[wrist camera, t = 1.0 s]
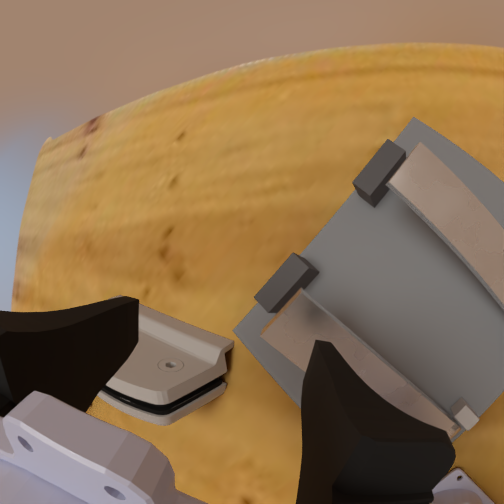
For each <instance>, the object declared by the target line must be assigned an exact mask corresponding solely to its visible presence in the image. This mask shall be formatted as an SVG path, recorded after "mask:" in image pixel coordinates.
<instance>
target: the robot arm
mask: <svg viewBox="0 0 504 504" xmlns="http://www.w3.org/2000/svg"><path fill="white" fill-rule="evenodd" d="M138 342H139V299H135V298H131V297H128V296H123V297H117V298H113V299H108V300H104V301H100V302H96V303H92V304H88V305H84V306H79V307H74V308H70V309H64V310H58V311H48V312H9V311H0V504H208V503H205V502H203V501H201V500H198V499H196V498H194V497H191V496H189V495H187V494H185V493H183V492H180V491H178V490H176V489H175V473H174V471H173V469H172V467H171V464H170V462H169V460H168V458H167V457H166V456H165V455H164V454H163V453H162V452H160V451H159V450H158V449H157V448H156V447H155V446H154V445H153V444H152V443H150V442H148V441H146V440H144V439H143V438H141V437H139V436H137V435H135V434H133V433H131V432H129V431H126V430H124V429H121V428H119V427H116V426H114V425H112V424H109V423H107V422H105V421H102V420H100V419H98V418H95V417H93V416H91V415H89V414H87V413H86V411H87V409H88V408H89V406H90V405H91V403H92V402H93V400H94V399H95V397H96V396H97V394H98V393H99V392H100V391H101V389H102V388H103V387H104V386H105V385H106V384H107V383H108V381H109V380H110V379H111V378H112V377H113V376H114V375H115V373H116V372H117V371H118V370H119V369H120V368H121V366H122V365H123V364H124V363H125V362H126V361H127V359H128V358H129V357H130V355H131V353H132V352H133V350H134V349H135V347H136V345H137V343H138ZM301 419H302V461H301V471H300V479H299V486H298V493H297V500H296V504H495V503H494V502H493V501H492V500H491V499H490V498H489V497H488V496H487V495H486V494H485V493H484V492H483V491H482V490H481V489H480V488H479V487H478V486H477V485H476V484H475V483H474V482H473V481H472V480H471V479H470V478H469V477H468V476H467V474H466V473H465V472H464V471H463V470H462V469H460V468H455V469H453V470H452V471H451V472H450V473H448V471H449V470H450V468H451V467H452V465H453V463H454V460H455V457H456V455H455V449H454V447H453V445H452V442H451V440H450V438H449V436H448V434H447V431H445V430H443V429H440V428H437V427H435V426H432V425H429V424H427V423H424V422H422V421H420V420H418V419H416V418H414V417H412V416H410V415H408V414H406V413H405V412H403V411H401V410H400V409H398V408H397V407H395V406H394V405H392V404H391V403H389V402H388V401H386V400H385V399H384V398H382V397H381V396H380V395H379V394H377V393H376V392H375V391H374V390H373V389H371V388H370V387H369V386H368V385H367V384H366V383H365V382H364V381H363V380H362V379H361V378H360V377H359V376H358V375H357V374H356V372H355V371H354V370H353V369H352V368H351V367H350V365H349V364H348V363H347V362H346V361H345V359H344V358H343V357H342V355H341V354H340V353H339V352H338V350H337V349H336V348H335V346H334V345H333V344H332V343H331V342H327V341H322V340H315V343H314V347H313V350H312V353H311V357H310V360H309V363H308V366H307V370H306V373H305V376H304V379H303V385H302V395H301ZM447 473H448V474H447ZM446 474H447V475H446ZM445 475H446V476H445ZM458 476H462V477H461V478H459V479H457V477H458Z"/></svg>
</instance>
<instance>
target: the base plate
mask: <svg viewBox="0 0 504 504" xmlns="http://www.w3.org/2000/svg"><path fill="white" fill-rule="evenodd" d="M419 142H421V143H422V144H424V145H425V146H426V147H427V148H428V149H429V150H430V151H431V152H432V153H433V154H434V155H435V156H437V157H438V158H439V159H440V160H441V161H442V162H443V163H444V164H445V165H446V166H447V167H448V168H449V169H450V170H451V171H452V172H453V173H454V174H455V175H456V176H457V177H458V178H459V179H460V180H461V181H462V182H463V183H464V184H465V185H466V186H467V188H468V189H469V190H470V191H471V192H472V193H473V194H474V195H475V196H476V197H477V198H478V200H479V201H480V202H481V203H482V204H483V205H484V206H485V207H486V209H487V210H488V211H489V212H490V213H491V214H492V216H493V217H494V218H495V219H496V220H497V222H498V223H499V224H500V225H501V227H502V228H503V229H504V182H503V181H501V180H500V179H499V178H498V177H497V176H495V175H494V174H493V173H492V172H491V171H489V170H488V169H487V168H486V167H484V166H483V165H482V164H481V163H479V162H478V161H477V160H475V159H474V158H473V157H472V156H470V155H469V154H468V153H466V152H465V151H464V150H462V149H461V148H459V147H458V146H457V145H455V144H454V143H452V142H451V141H450V140H448V139H447V138H445V137H444V136H442V135H441V134H439V133H438V132H436V131H435V130H433V129H432V128H430V127H429V126H427V125H426V124H424V123H423V122H421V121H419V120H418V119H416V118H415V117H413V118H412V120H411V121H410V122H409V123H408V125H407V126H406V127H405V129H404V130H403V131H402V132H401V134H400V135H399V136H398V137H397V139H396V140H395V141H394V142H392V141H390V140H389V139H387V140H386V142H385V143H384V144H383V145H382V147H381V148H380V149H379V150H378V152H377V153H376V154H375V155H374V156H373V158H372V159H371V160H370V161H369V163H368V164H367V165H366V166H365V167H364V169H363V170H362V171H361V172H360V174H359V175H358V176H357V177H356V178H355V180H354V181H353V182H352V183H353V185H354V187H355V191H354V192H353V193H352V194H351V195H350V197H349V198H348V199H347V200H346V201H345V203H344V204H343V205H342V206H341V207H340V209H339V210H338V211H337V212H336V213H335V215H334V216H333V217H332V218H331V219H330V220H329V222H328V223H327V224H326V225H325V226H324V228H323V229H322V230H321V231H320V232H319V233H318V235H317V236H316V237H315V238H314V239H313V240H312V242H311V243H310V244H309V245H308V246H307V247H306V249H305V250H304V251H303V252H302V253H301V254H300V255H297V254H295V253H292V254H291V255H290V256H289V258H288V259H287V260H286V261H285V262H284V263H283V265H282V266H281V267H280V268H279V269H278V270H277V271H276V273H275V274H274V275H273V276H272V277H271V278H270V279H269V281H268V282H267V283H266V284H265V285H264V286H263V287H262V288H261V290H260V291H259V292H258V293H257V294H256V295H255V296H254V298H255V299H256V300H257V302H258V303H257V304H256V305H255V306H254V307H253V309H252V310H251V311H250V312H249V313H248V314H247V315H246V316H245V317H244V319H243V320H242V321H241V322H240V323H239V324H238V325H237V326H236V327H235V328H234V329H233V332H234V333H235V334H236V335H237V337H238V338H239V339H240V340H241V341H242V343H243V344H244V345H245V346H246V347H247V348H248V350H249V351H250V352H251V353H252V354H253V356H254V357H255V358H256V359H257V360H258V361H259V362H260V364H261V365H262V366H263V367H264V368H265V369H266V371H267V372H268V373H269V374H270V375H271V376H272V377H273V379H274V380H275V381H276V382H277V383H278V384H279V385H280V386H281V388H282V389H283V390H284V391H285V392H286V393H287V394H288V395H289V396H290V398H291V399H292V400H293V401H294V402H295V403H296V404H297V405H298V406H299V407H300V408H301V395H302V385H303V379H304V376H305V373H306V372H304V371H303V370H302V369H300V368H299V367H298V366H297V365H295V364H294V363H293V362H291V361H290V360H289V359H288V358H286V357H285V356H284V355H283V354H281V353H280V352H279V351H278V350H276V349H275V348H274V347H273V346H271V345H270V344H269V343H268V342H266V341H265V340H264V339H263V338H261V337H260V335H261V332H262V329H263V328H264V327H265V326H266V325H267V324H268V323H269V322H270V321H271V320H272V318H273V317H274V316H275V315H276V314H277V313H278V312H279V311H280V310H281V309H282V308H283V307H284V306H285V304H286V303H287V302H288V301H289V300H290V299H291V298H292V297H293V296H294V295H295V293H296V292H297V291H298V290H299V289H300V288H303V289H304V290H305V291H306V292H307V293H308V294H310V295H311V296H312V297H313V298H314V299H315V300H317V301H318V302H319V303H320V304H321V305H322V306H324V307H325V308H326V309H327V310H328V311H329V312H331V313H332V314H333V315H334V316H335V317H336V318H338V319H339V320H340V321H341V322H342V323H343V324H345V325H346V326H347V327H348V328H349V329H350V330H352V331H353V332H354V333H355V334H356V335H357V336H359V337H360V338H361V339H362V340H363V341H364V342H366V343H367V344H368V345H369V346H370V347H371V348H373V349H374V350H375V351H376V352H377V353H378V354H380V355H381V356H382V357H383V358H384V359H385V360H386V361H388V362H389V363H390V364H391V365H392V366H393V367H395V368H396V369H397V370H398V371H399V372H400V373H402V374H403V375H404V376H405V377H406V378H407V379H409V380H410V381H411V382H412V383H413V384H414V385H415V386H417V387H418V388H419V389H420V390H421V391H422V392H424V393H425V394H426V395H427V396H428V397H429V398H430V399H432V400H433V401H434V402H435V403H436V404H437V405H439V406H440V407H441V408H442V409H443V410H444V411H445V412H447V413H448V414H449V415H451V416H452V417H453V418H454V419H455V420H456V421H457V422H458V424H459V425H460V426H461V428H462V429H461V430H460V431H459V432H458V433H457V434H456V435H455V436H454V437H453V438H452V439H450V440H451V442H453V441H454V440H455V439H457V438H458V437H459V436H460V435H461V434H462V433H463V432H464V431H465V430H467V431H469V430H470V429H471V428H472V427H473V426H474V425H475V424H476V423H477V422H478V421H479V417H480V416H481V415H482V414H483V413H484V412H485V411H486V410H487V409H488V408H489V406H490V405H491V404H492V403H493V402H494V401H495V400H496V399H497V398H498V397H499V396H500V395H501V393H502V392H503V391H504V311H503V309H502V308H501V307H500V305H499V304H498V303H497V302H496V300H495V299H494V298H493V297H492V295H491V294H490V293H489V292H488V291H487V289H486V288H485V287H484V286H483V284H482V283H481V282H480V281H479V280H478V279H477V277H476V276H475V275H474V274H473V273H472V272H471V270H470V269H469V268H468V267H467V266H466V265H465V264H464V263H463V261H462V260H461V259H460V258H459V257H458V256H457V255H456V254H455V253H454V252H453V250H452V249H451V248H450V247H449V246H448V245H447V244H446V243H445V242H444V241H443V240H442V239H441V238H440V237H439V236H438V235H437V234H436V233H435V232H434V231H433V230H432V229H431V228H430V227H429V226H428V225H427V224H426V223H425V222H424V221H423V220H422V219H421V218H420V217H419V216H418V215H417V214H416V213H415V212H414V211H413V210H412V209H411V208H410V207H409V206H408V205H407V204H406V203H405V202H404V201H403V200H402V199H400V198H399V197H398V196H397V195H396V194H395V193H394V192H393V191H392V190H391V189H389V188H388V187H387V186H386V183H387V182H388V181H389V180H390V178H391V177H392V176H393V175H394V173H395V172H396V171H397V170H398V168H399V167H400V166H401V164H402V163H403V162H404V161H405V159H406V158H407V157H408V155H409V154H410V153H411V151H412V150H413V149H414V148H415V146H416V145H417V144H418V143H419Z"/></svg>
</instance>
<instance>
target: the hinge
mask: <svg viewBox="0 0 504 504" xmlns="http://www.w3.org/2000/svg"><path fill="white" fill-rule="evenodd" d="M117 297H123V296H121V295H119V296H116V297H113V298H117ZM113 298H110V299H113ZM233 347H234V341H232V340H230V339H227V338H224V337H221V336H219V335H216V334H213V333H211V332H208V331H205V330H203V329H200V328H198V327H195V326H192V325H190V324H187V323H185V322H182V321H180V320H177V319H175V318H172V317H170V316H168V315H165V314H163V313H160V312H158V311H156V310H153V309H151V308H148V307H146V306H144V305H141V304H139V342H138V343H137V345H136V347H135V349H134V350H133V352H132V353H131V355H130V357H129V358H128V359H127V361H126V362H125V363H124V364H123V365H122V366H121V368H120V369H119V370H118V371H117V372H116V373H115V375H114V376H113V377H112V378H111V379H110V380H109V381H108V383H107V384H106V385H105V386H104V387H103V388H102V389H101V391H100V392H99V393H98V394H97V396H99V397H100V398H101V399H103V400H104V401H105V402H107V403H108V404H110V405H112V406H113V407H115V408H117V409H119V410H120V411H122V412H125V413H127V414H129V415H131V416H133V417H136V418H139V419H141V420H144V421H147V422H150V423H154V424H157V425H164V426H165V425H170V424H172V423H174V422H176V421H177V420H179V419H181V418H183V417H184V416H186V415H188V414H190V413H191V412H193V411H195V410H196V409H198V408H200V407H202V406H203V405H205V404H207V403H208V402H210V401H212V400H213V399H215V398H216V397H218V396H220V395H221V394H223V393H224V391H225V388H226V385H227V384H226V383H224V382H222V380H221V379H219V377H221V376H222V374H224V373H226V372H227V367H226V361H225V352H227V351H228V350H230V349H231V348H233Z"/></svg>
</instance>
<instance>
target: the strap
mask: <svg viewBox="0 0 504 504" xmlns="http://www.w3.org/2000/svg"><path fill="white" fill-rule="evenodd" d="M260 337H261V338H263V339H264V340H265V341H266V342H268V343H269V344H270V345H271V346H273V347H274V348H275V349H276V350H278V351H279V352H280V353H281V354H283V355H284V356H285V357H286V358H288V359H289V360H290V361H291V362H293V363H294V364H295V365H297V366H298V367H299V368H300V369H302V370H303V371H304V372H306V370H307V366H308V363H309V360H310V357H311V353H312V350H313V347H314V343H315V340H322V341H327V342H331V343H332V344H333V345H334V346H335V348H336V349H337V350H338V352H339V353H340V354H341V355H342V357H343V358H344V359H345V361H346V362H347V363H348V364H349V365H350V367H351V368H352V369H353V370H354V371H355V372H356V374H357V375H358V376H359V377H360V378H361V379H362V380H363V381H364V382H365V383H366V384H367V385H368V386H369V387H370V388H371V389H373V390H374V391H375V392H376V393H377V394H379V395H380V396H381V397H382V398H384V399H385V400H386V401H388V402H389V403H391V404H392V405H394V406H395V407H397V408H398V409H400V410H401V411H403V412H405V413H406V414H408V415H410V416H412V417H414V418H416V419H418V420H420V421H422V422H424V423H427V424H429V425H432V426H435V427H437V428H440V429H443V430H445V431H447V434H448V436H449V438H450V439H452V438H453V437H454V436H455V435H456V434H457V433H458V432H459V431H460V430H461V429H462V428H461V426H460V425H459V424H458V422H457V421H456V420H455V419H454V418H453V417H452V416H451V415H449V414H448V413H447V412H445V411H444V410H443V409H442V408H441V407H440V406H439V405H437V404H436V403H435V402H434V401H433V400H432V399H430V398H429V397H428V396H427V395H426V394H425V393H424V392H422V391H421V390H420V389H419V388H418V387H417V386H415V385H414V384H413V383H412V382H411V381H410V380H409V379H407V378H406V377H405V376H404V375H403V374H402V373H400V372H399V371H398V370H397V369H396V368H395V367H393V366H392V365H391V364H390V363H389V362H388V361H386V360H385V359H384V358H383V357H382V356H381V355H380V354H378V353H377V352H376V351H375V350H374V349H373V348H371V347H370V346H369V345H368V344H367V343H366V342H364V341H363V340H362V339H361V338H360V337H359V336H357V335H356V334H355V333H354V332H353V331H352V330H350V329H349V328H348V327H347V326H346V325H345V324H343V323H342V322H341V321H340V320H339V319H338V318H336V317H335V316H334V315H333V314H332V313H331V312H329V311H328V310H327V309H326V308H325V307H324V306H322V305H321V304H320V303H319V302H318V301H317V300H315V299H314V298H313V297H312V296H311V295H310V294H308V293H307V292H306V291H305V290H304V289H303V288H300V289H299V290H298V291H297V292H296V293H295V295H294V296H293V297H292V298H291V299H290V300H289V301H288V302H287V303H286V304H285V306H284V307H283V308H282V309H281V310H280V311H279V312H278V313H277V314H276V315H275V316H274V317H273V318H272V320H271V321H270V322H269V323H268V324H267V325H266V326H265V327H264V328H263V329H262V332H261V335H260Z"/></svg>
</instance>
